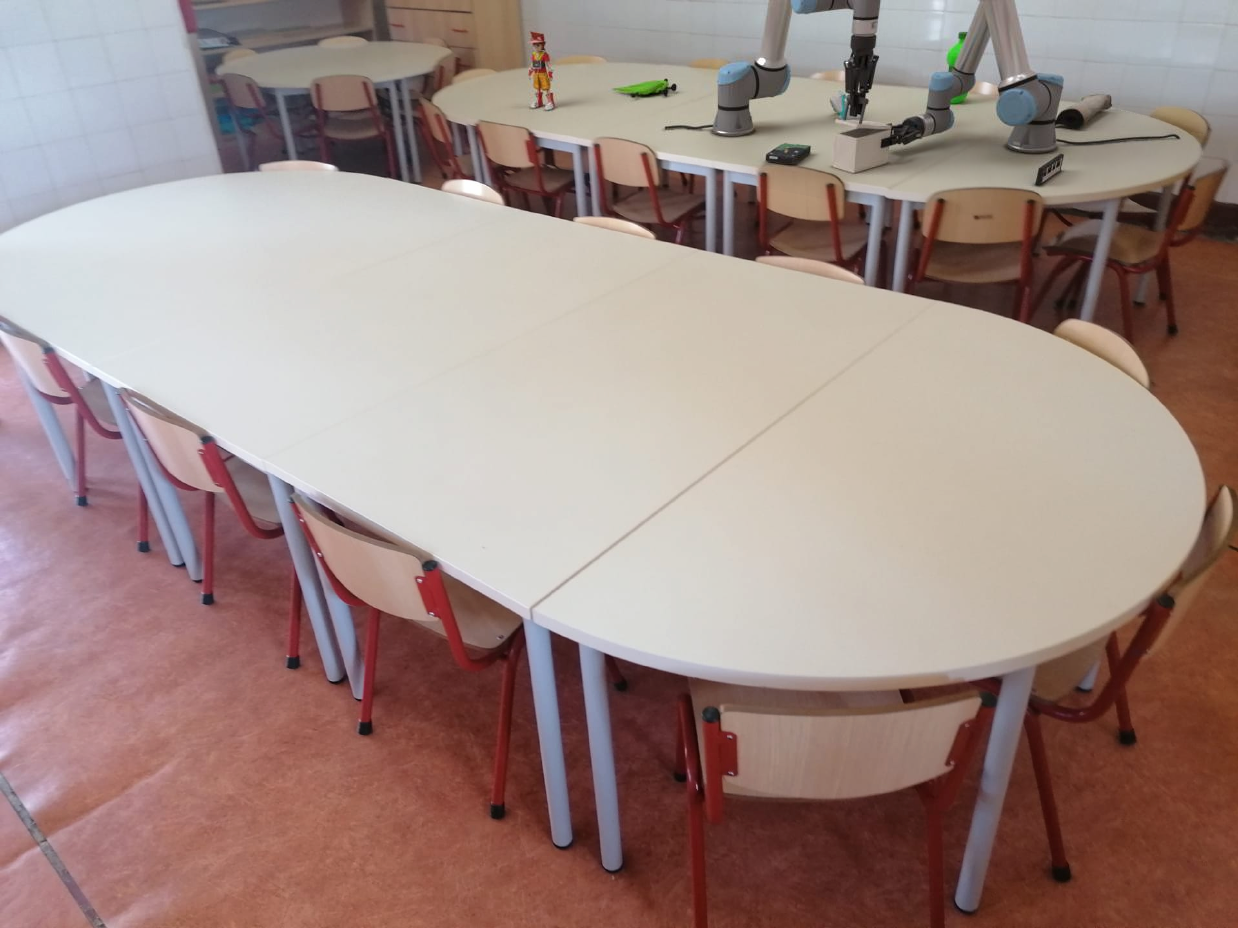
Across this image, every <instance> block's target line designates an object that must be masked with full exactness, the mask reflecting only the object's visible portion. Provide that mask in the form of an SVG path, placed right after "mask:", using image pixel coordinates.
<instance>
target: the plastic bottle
mask: <svg viewBox="0 0 1238 928" xmlns="http://www.w3.org/2000/svg"><path fill="white" fill-rule="evenodd" d="M967 32H968V31H959V32H958V36H957V39H958V42H957V43H956V44H954V45H953V46H952V47H951V48H950V49H949V50H948V52H947V54H946V63H947V64H948V69H947V70H948V71H947V72H952V70H953V68H954V65H955V63H956V60H957V57H958V55H959V52H960V50H961V47H962V45H963V42H964V40H965V37H966V35H967ZM968 95H969V92H967V93H966V94H964V95H960V96H958V97H955V98H953V99H951V103H950V104H960V103H961V102H963V101H964V100H966V98H967V96H968Z"/></svg>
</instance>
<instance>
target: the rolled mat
mask: <svg viewBox="0 0 1238 928" xmlns="http://www.w3.org/2000/svg"><path fill="white" fill-rule="evenodd" d="M1112 107H1113V103H1112V95H1110V94H1105V93H1096V94H1091V95H1085V96H1083V97H1082V98H1081V99H1080V100H1079V101H1078V102H1075V103H1074V104H1072V105H1070V106H1068V107H1067V108H1065V109H1063V110H1061V111H1060V112H1059V114H1057V116H1056V120H1055V127H1056V126H1058V125H1059V126H1060V125H1061V126H1064V127H1065V128H1066V129H1073V130H1079V129H1081V128H1082V127H1083V126H1084V125H1086V123H1088V121H1089V120H1090V119H1091V118H1092V117H1094V116H1095V115H1096V114H1097V113H1098V112H1100V111H1106V110H1109V109H1110V108H1112Z"/></svg>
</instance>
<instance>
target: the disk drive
mask: <svg viewBox="0 0 1238 928" xmlns="http://www.w3.org/2000/svg"><path fill="white" fill-rule="evenodd" d="M811 148H812V146H811V145H805V144H799V143H796V144H795V143H787V142H785V143H781V144H780V145H778V146H777V147H775V148H773V149H772V150H770V151H768V152H767V153H766V154H765V162H768V163H769V162H770V163H776V164H781V165H782V164H783V165H795V164H797V163H798V162H799V161H801V160H802V159H804V158H805V157H807V156H808V155H810V154H811V150H812V149H811Z"/></svg>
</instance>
